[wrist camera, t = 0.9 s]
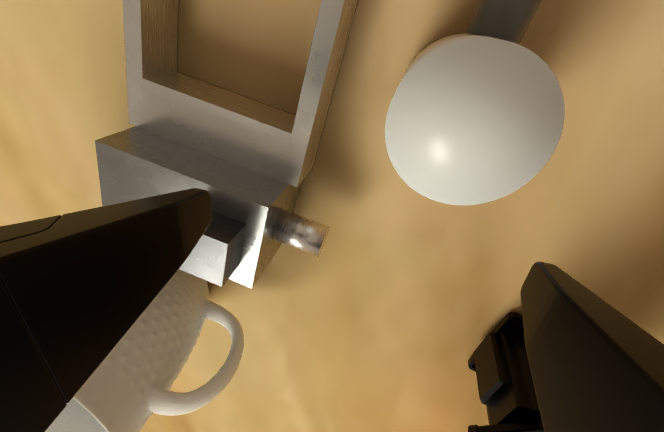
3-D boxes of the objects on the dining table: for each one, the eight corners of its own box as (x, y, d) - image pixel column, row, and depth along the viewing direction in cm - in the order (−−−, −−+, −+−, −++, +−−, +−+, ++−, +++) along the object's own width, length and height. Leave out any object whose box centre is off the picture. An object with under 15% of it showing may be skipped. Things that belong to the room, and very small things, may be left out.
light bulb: (574, 2, 15) (668, -13, 9) (480, 165, 20) (503, 226, 14) (447, -40, 15) (457, -79, 10) (383, 129, 20) (363, 174, 14)
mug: (274, 256, 27) (166, 418, 16) (268, 345, 33) (186, 509, 22) (111, 211, 29) (-85, 326, 18) (133, 302, 35) (-5, 432, 24)
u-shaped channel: (414, -14, 16) (404, -41, 9) (323, 250, 25) (285, 332, 19) (162, -97, 17) (-12, -177, 10) (162, 187, 26) (69, 243, 19)
